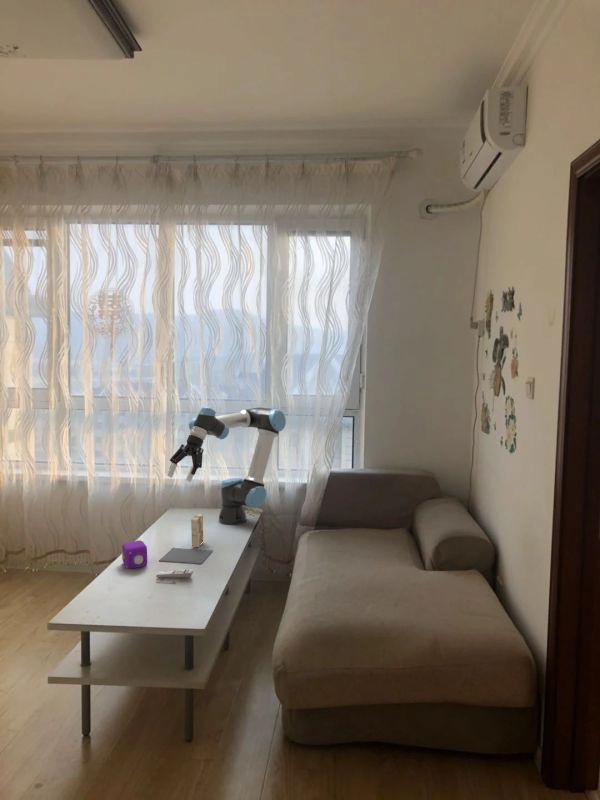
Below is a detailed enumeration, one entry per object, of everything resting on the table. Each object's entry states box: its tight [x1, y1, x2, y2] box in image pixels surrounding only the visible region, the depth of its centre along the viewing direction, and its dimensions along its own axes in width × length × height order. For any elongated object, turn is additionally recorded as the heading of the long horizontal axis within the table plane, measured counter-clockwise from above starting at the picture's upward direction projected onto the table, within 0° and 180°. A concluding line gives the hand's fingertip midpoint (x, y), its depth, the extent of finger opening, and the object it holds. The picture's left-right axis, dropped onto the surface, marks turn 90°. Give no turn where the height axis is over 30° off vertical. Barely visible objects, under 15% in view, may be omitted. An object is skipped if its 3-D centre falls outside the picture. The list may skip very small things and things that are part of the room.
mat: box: [158, 547, 214, 565], centre depth 267 cm, size 16×20×1 cm
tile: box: [190, 513, 204, 548], centre depth 281 cm, size 8×3×14 cm, turn 170°
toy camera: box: [121, 539, 148, 569], centre depth 256 cm, size 11×14×10 cm
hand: (178, 478), depth 270 cm, fingers open, 13 cm apart
